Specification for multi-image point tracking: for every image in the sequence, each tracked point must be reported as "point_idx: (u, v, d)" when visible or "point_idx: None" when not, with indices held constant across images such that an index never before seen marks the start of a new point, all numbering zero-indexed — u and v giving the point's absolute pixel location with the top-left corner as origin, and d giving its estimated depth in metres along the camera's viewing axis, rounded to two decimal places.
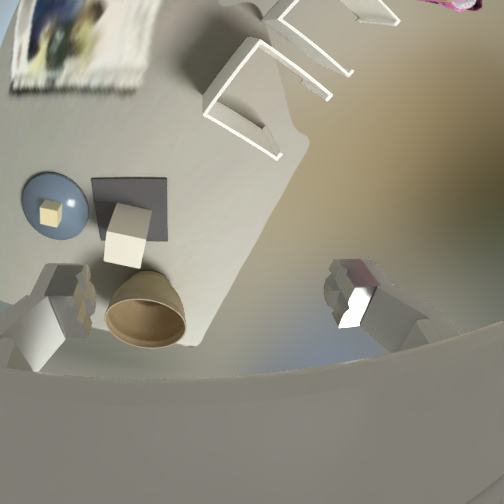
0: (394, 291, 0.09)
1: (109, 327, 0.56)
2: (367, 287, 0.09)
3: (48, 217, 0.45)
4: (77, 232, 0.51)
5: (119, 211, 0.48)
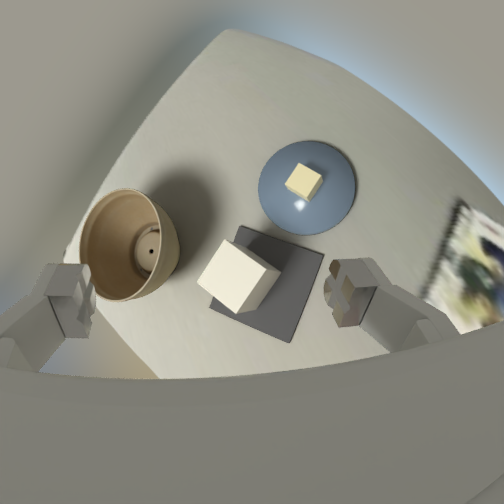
0: (394, 290, 0.09)
1: (127, 190, 0.42)
2: (367, 287, 0.09)
3: (303, 179, 0.41)
4: (262, 201, 0.45)
5: (273, 278, 0.41)
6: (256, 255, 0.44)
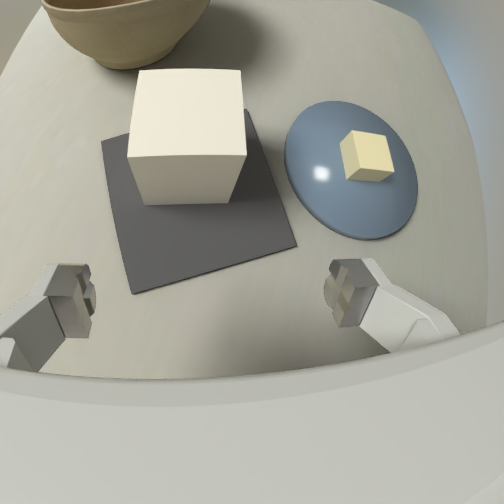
0: (394, 291, 0.09)
1: None
2: (367, 287, 0.09)
3: (374, 151, 0.24)
4: (301, 119, 0.26)
5: (217, 191, 0.21)
6: None
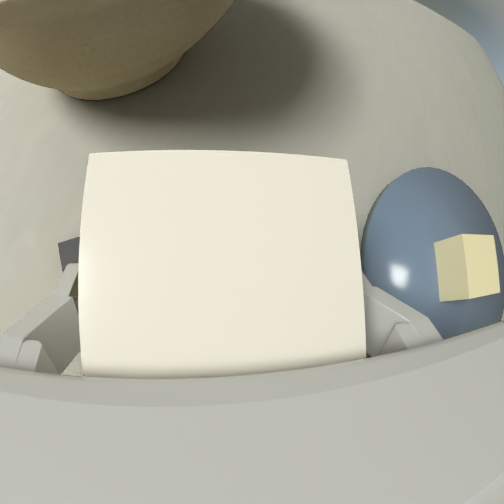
0: (373, 292, 0.09)
1: None
2: None
3: (483, 264, 0.14)
4: (387, 204, 0.16)
5: None
6: None
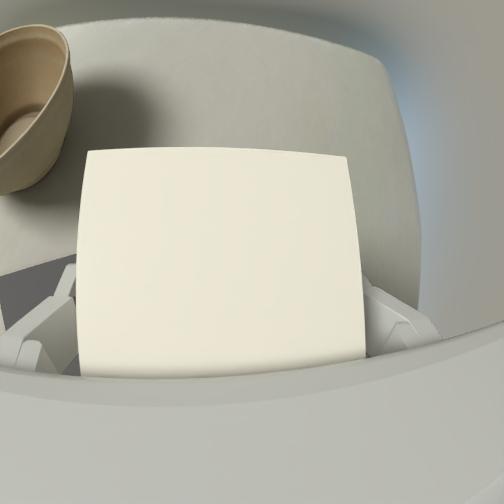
0: (373, 292, 0.09)
1: (65, 49, 0.17)
2: None
3: None
4: None
5: None
6: None
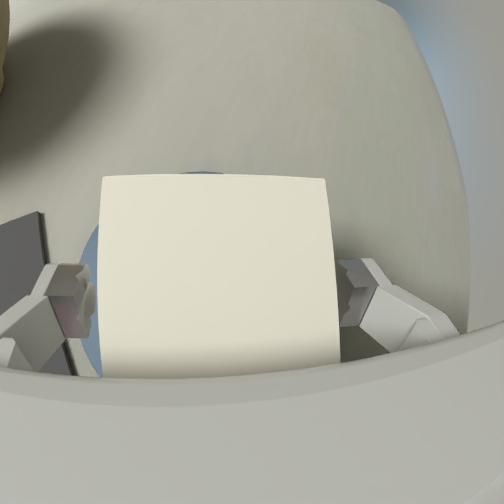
0: (394, 291, 0.09)
1: None
2: (367, 287, 0.09)
3: None
4: None
5: None
6: None
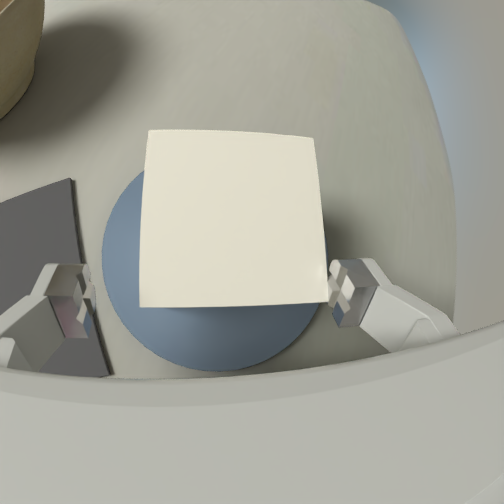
0: (394, 291, 0.09)
1: None
2: (367, 287, 0.09)
3: None
4: (133, 187, 0.18)
5: None
6: None
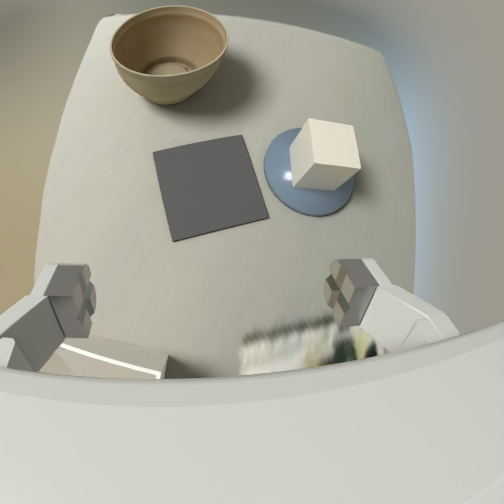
0: (394, 291, 0.09)
1: (221, 25, 0.35)
2: (367, 287, 0.09)
3: None
4: (275, 141, 0.44)
5: (335, 184, 0.41)
6: None
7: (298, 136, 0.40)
